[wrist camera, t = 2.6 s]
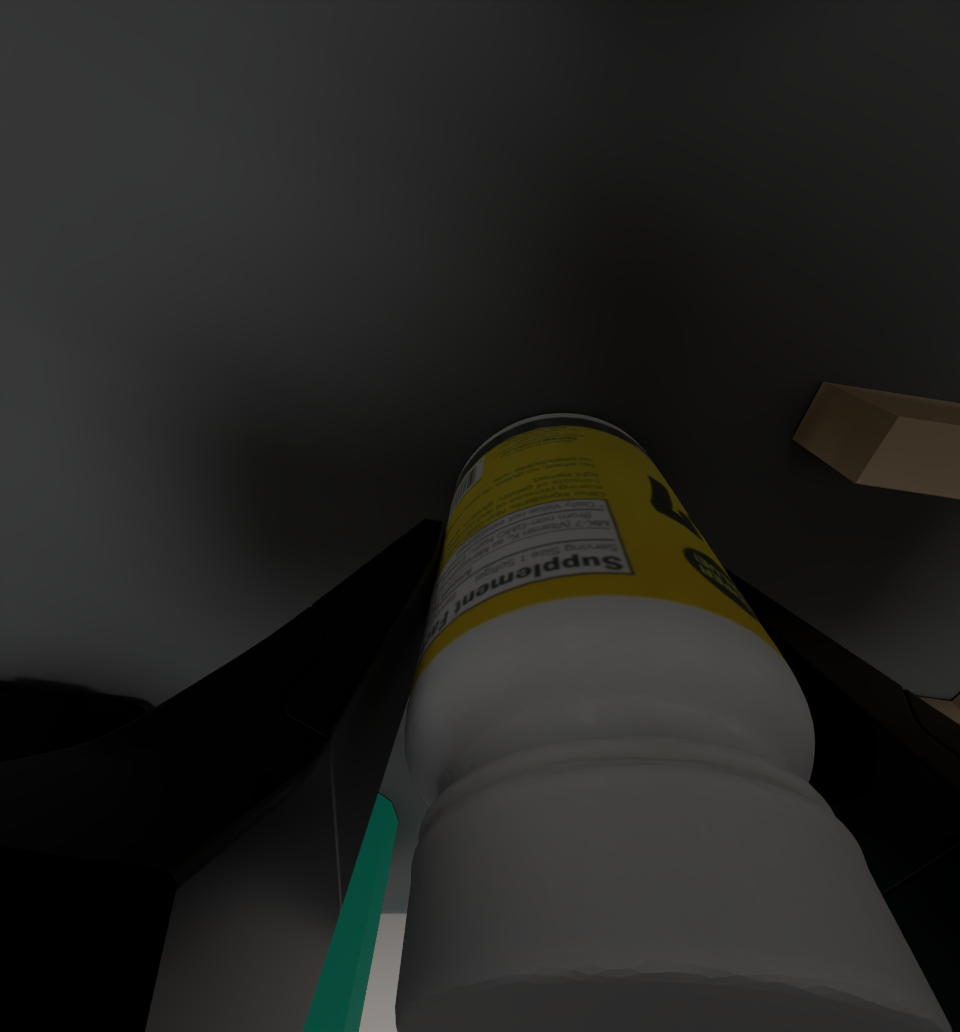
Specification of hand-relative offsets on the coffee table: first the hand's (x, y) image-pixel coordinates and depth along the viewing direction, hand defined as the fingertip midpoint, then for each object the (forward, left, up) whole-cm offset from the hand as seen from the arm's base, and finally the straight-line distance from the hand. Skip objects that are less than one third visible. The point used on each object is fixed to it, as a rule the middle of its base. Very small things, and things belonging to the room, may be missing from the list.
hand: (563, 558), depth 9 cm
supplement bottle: (0, 0, -2) cm, 2 cm away
